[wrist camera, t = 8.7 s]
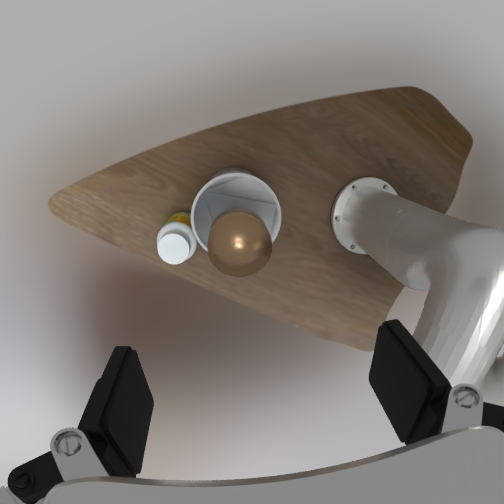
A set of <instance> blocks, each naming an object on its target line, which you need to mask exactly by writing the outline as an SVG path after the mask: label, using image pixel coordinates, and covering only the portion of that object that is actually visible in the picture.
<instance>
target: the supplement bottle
mask: <svg viewBox="0 0 504 504" xmlns="http://www.w3.org/2000/svg"><path fill="white" fill-rule="evenodd" d="M197 242H198V241H197V239H196V237H195V235H194V233H193V230H192V226H191V214H190V213H186V212H179V213H176V214H174V215H172V216H171V217H170V218H169V219H168V220H167V222H166V223H165V224H164V226H163V227H162V228H161V230H160V232H159V234H158V236H157V246H158V253H159V255H160V257H161V258H162V259H163V260H164V261H165V262H167V263H169V264H179V263H182V262H183V261H185V260H187V259H188V258H190V257H191V256H192V255H193V253H194V252H195V250H196V246H197Z"/></svg>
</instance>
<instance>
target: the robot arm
mask: <svg viewBox="0 0 504 504" xmlns="http://www.w3.org/2000/svg"><path fill="white" fill-rule="evenodd" d="M352 186H354V187H353V188H352ZM383 186H384V187H383ZM336 216H337V218H336V219H335V217H336ZM331 224H332V229H333V232H334V234H335V236H336V238H337V240H338V241H339V242H340V243H341V244H342V245H343V246H344V247H345V248H346V249H348V250H349V251H351V252H354V253H357V254H368V255H369V256H371V257H372V258H373V259H374V260H375V261H376V262H377V263H379V264H380V265H381V266H382V267H383V268H384V269H385V270H387V271H388V272H389V273H390V274H391V275H392V276H393V277H394V278H396V279H397V280H398V281H399V282H400V283H402V284H403V285H404V286H406V287H408V288H411V289H415V290H429V292H428V295H427V298H426V301H425V304H424V308H423V311H422V314H421V317H420V319H419V322H418V324H417V327H416V329H415V331H414V334H413V336H412V335H411V334H410V333H409V332H408V331H407V329H406V328H405V327H404V326H403V325H402V324H401V323H400V321H399V320H397V319H395V320H389V321H385V322H383V324H382V326H379V329H378V334H377V339H376V344H375V349H374V355H373V359H372V364H371V368H370V373H369V382H370V385H371V386H372V388H373V390H374V392H375V393H376V396H377V398H378V399H379V401H380V403H381V405H382V407H383V409H384V411H385V413H386V415H387V416H388V418H389V420H390V422H391V424H392V426H393V428H394V430H395V432H396V434H397V436H398V438H399V439H400V441H401V442H405V444H406V446H403V447H400V448H397V449H394V450H391V451H388V452H385V453H381V454H378V455H375V456H371V457H367V458H364V459H360V460H357V461H352V462H348V463H344V464H340V465H336V466H331V467H326V468H321V469H316V470H311V471H305V472H298V473H293V474H285V475H278V476H269V477H260V478H249V479H235V480H212V481H185V480H157V479H141V478H136V474H139V473H140V472H141V468H142V462H143V457H144V451H145V446H146V441H147V436H148V431H149V426H150V421H151V416H152V411H153V406H154V401H153V397H152V394H151V392H150V389H149V386H148V384H147V381H146V378H145V375H144V373H143V370H142V367H141V364H140V361H139V358H138V355H137V352H136V350H132V349H131V347H130V346H116V347H115V348H114V350H113V352H112V355H111V357H110V359H109V361H108V363H107V366H106V368H105V370H104V372H103V375H102V377H101V378H100V379H98V381H97V382H96V385H95V387H94V389H93V391H92V394H91V396H90V398H89V401H88V403H87V406H86V408H85V410H84V413H83V415H82V418H81V420H80V423H79V426H78V428H77V429H76V428H65V429H62V430H60V431H58V432H57V433H56V434H55V435H54V436H53V438H52V440H51V443H50V447H51V451H49V452H47V453H45V454H43V455H41V456H39V457H37V458H35V459H33V460H31V461H29V462H27V463H25V464H23V465H20V466H18V467H16V468H15V469H13V470H12V472H11V473H10V474H9V477H8V487H6V488H5V487H4V486H2V487H1V488H0V504H504V352H503V354H502V355H501V356H500V357H497V355H498V353H499V351H500V349H501V347H502V345H503V344H504V231H503V230H501V229H498V228H494V227H491V226H486V225H481V224H476V223H471V222H467V221H463V220H460V219H456V218H453V217H451V216H448V215H445V214H443V213H440V212H438V211H435V210H433V209H430V208H428V207H425V206H423V205H420V204H418V203H415V202H412V201H410V200H407V199H405V198H402V197H399V196H398V194H397V193H396V191H395V190H394V188H393V187H392V186H391V185H389V184H388V183H387V182H385V181H383V180H381V179H378V178H374V177H362V178H358V179H356V180H353V181H351V182H350V183H348V184H347V185H346V186H345V187H344V188H343V189H342V190H341V191H340V192H339V194H338V195H337V197H336V199H335V201H334V204H333V207H332V211H331ZM351 245H352V246H351Z"/></svg>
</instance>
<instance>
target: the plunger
mask: <svg viewBox="0 0 504 504" xmlns="http://www.w3.org/2000/svg"><path fill="white" fill-rule="evenodd" d="M207 250H208V255H209V258H210V260H211V262H212V263H213V265H214V266H215V267H216V268H217V269H218V270H220V271H221V272H223V273H225V274H227V275H230V276H235V277H244V276H249V275H252V274H254V273H256V272H258V271H259V270H260V269H262V268H263V267H264V266H265V264H266V263H267V262H268V260H269V258H270V255H271V252H272V239H271V236H270V233H269V231H268V229H267V227H266V225H265V223H264V221H263V219H262V218H261V217H260V216H259V215H258V214H257V213H256V212H254V211H252V210H250V209H247V208H242V207H235V208H230V209H227V210H225V211H223V212H222V213H220V214H219V215H218V216H217V217H216V218H215V219H214V221H213V223H212V225H211V227H210V232H209V237H208V244H207Z"/></svg>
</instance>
